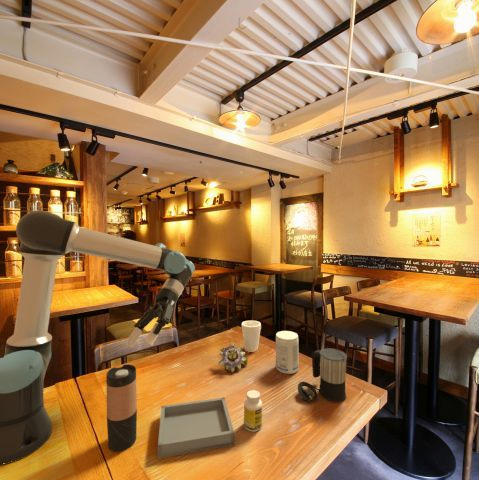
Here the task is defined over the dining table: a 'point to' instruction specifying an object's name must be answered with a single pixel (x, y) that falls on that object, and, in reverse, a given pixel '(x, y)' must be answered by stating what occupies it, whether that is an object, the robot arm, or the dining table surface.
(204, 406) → the tray
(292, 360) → the supplement tub
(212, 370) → the dining table surface
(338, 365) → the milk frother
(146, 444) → the dining table surface
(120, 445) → the travel mug
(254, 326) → the foam cup
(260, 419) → the supplement bottle
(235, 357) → the passion flower
